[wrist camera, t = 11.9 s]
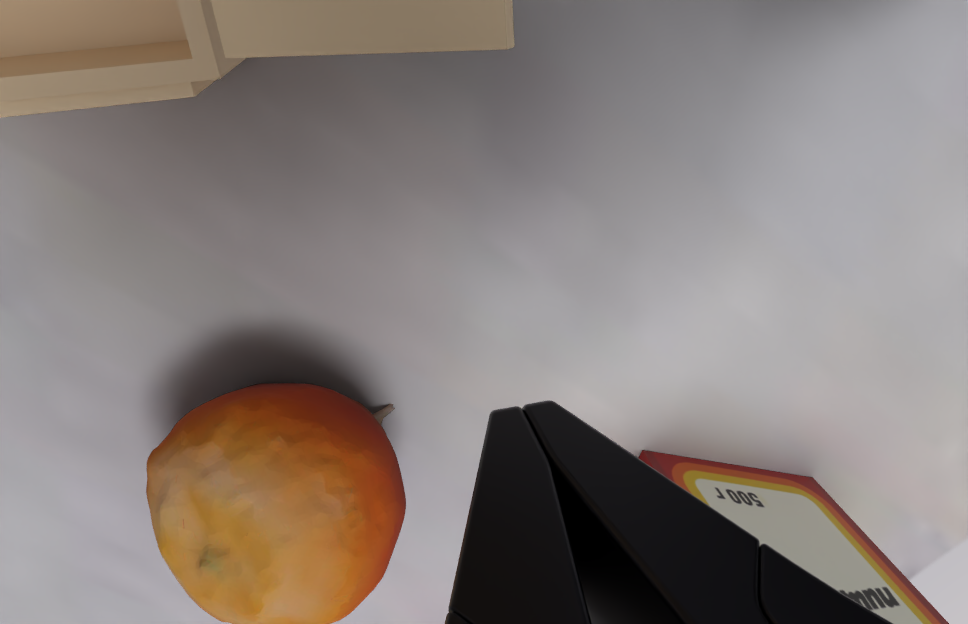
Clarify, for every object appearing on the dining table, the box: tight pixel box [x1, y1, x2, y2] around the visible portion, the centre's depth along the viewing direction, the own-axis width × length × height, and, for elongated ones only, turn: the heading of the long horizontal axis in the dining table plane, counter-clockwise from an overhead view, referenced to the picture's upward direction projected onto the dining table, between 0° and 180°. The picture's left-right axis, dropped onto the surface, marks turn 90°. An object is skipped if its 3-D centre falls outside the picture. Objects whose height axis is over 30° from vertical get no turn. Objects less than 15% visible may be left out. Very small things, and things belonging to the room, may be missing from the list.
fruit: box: [146, 383, 406, 624], centre depth 21 cm, size 8×8×8 cm
